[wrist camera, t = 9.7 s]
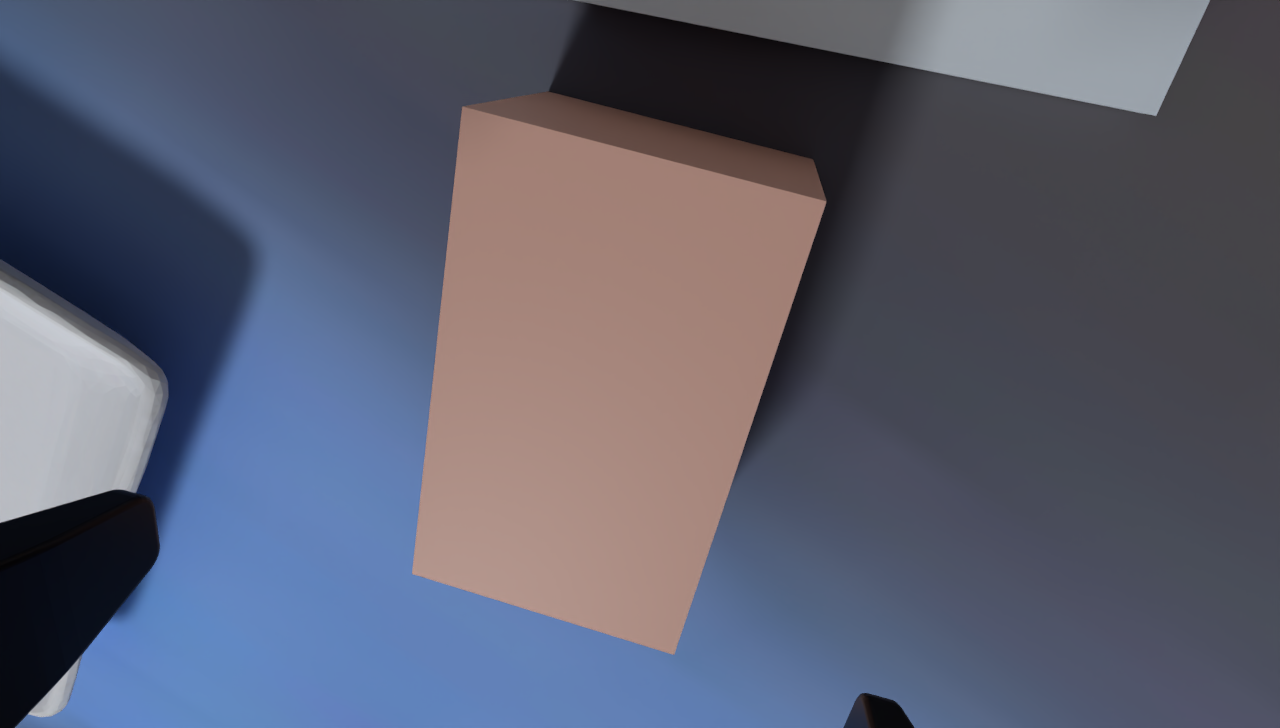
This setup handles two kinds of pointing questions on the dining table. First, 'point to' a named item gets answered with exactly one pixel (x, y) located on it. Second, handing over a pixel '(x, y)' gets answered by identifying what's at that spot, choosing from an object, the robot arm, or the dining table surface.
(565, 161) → the brick
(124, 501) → the robot arm
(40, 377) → the tray
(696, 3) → the blueprint board
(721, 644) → the dining table surface
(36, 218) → the dining table surface
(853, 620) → the dining table surface
